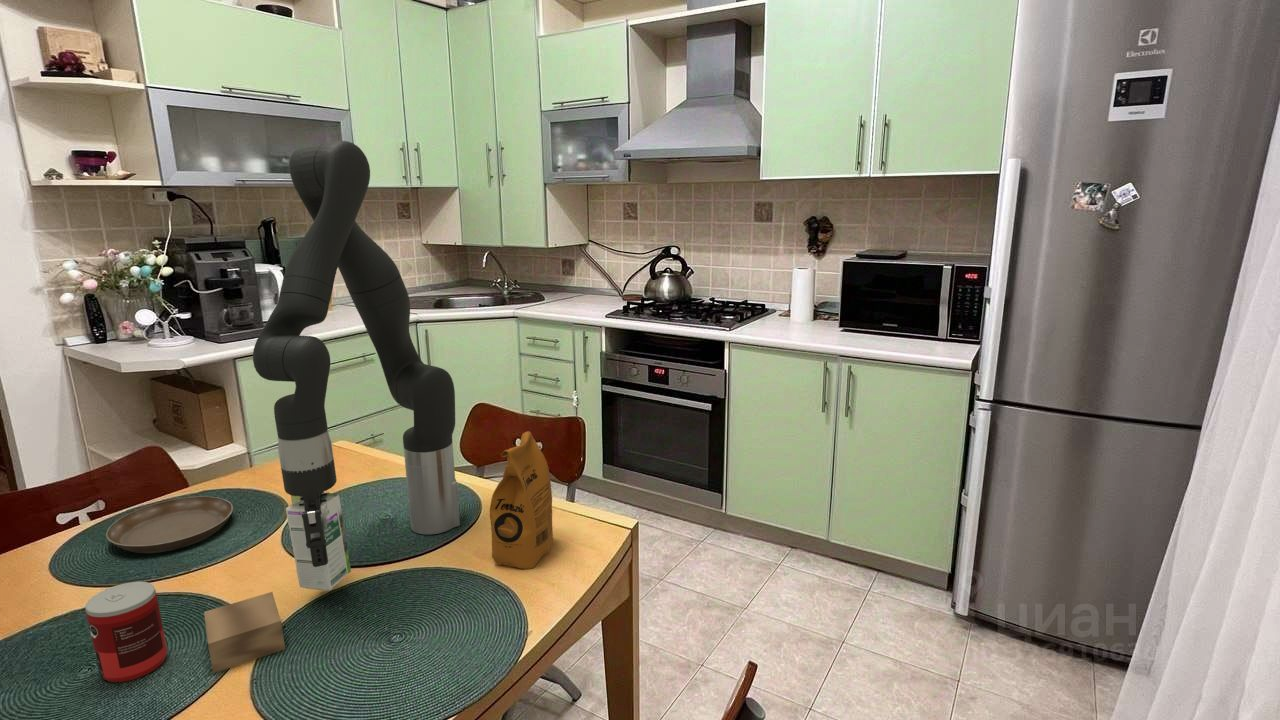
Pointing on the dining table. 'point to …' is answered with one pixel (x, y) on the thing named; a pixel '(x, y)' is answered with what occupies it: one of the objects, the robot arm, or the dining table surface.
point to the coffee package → (522, 507)
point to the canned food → (126, 631)
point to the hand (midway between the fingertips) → (321, 552)
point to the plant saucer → (170, 524)
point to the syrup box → (335, 546)
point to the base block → (243, 631)
